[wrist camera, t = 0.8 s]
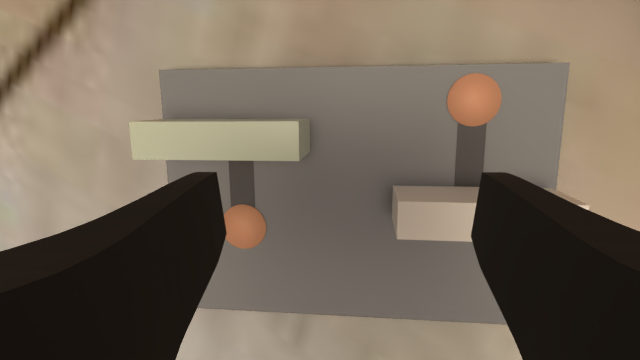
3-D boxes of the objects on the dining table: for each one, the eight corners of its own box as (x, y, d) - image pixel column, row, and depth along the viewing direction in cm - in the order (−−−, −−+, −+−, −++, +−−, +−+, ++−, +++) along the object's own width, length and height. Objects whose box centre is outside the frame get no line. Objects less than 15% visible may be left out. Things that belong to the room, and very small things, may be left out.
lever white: (547, 221, 23) (584, 245, 19) (391, 217, 24) (396, 239, 20) (551, 187, 23) (589, 205, 19) (392, 185, 24) (398, 201, 20)
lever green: (310, 151, 24) (299, 161, 20) (169, 150, 25) (132, 159, 21) (309, 118, 24) (298, 121, 20) (166, 118, 25) (129, 121, 21)
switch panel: (529, 311, 27) (542, 327, 25) (189, 294, 29) (177, 307, 28) (554, 65, 24) (570, 62, 22) (172, 72, 26) (157, 69, 25)
